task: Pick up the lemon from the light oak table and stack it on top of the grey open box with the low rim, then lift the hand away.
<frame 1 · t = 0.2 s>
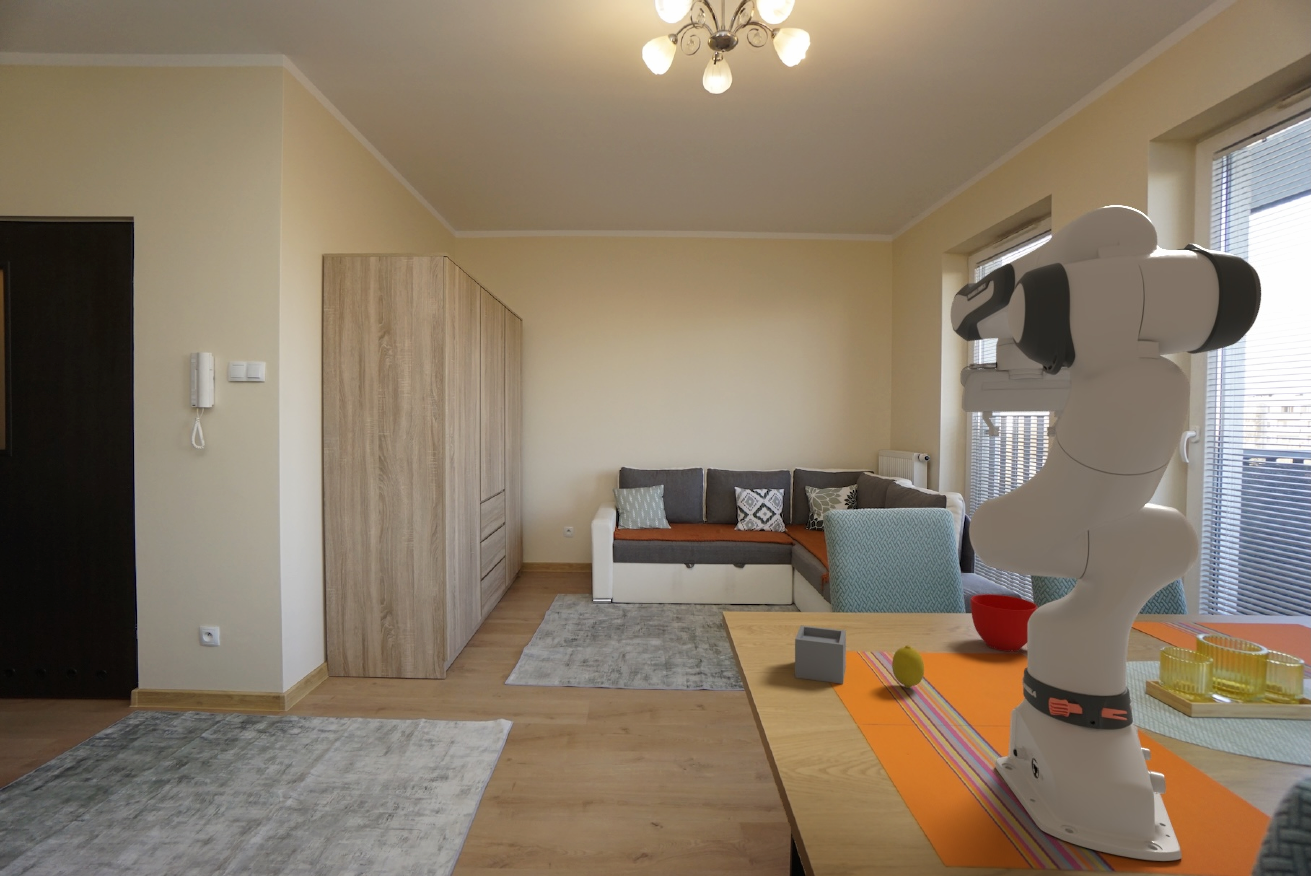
hand: (1023, 436, 111), 47 cm above the table, tool pointing down, fingers open, 8 cm apart
grey open box: (820, 672, 120), on the table
lemon: (907, 689, 112), on the table
red bowl: (1012, 648, 134), on the table
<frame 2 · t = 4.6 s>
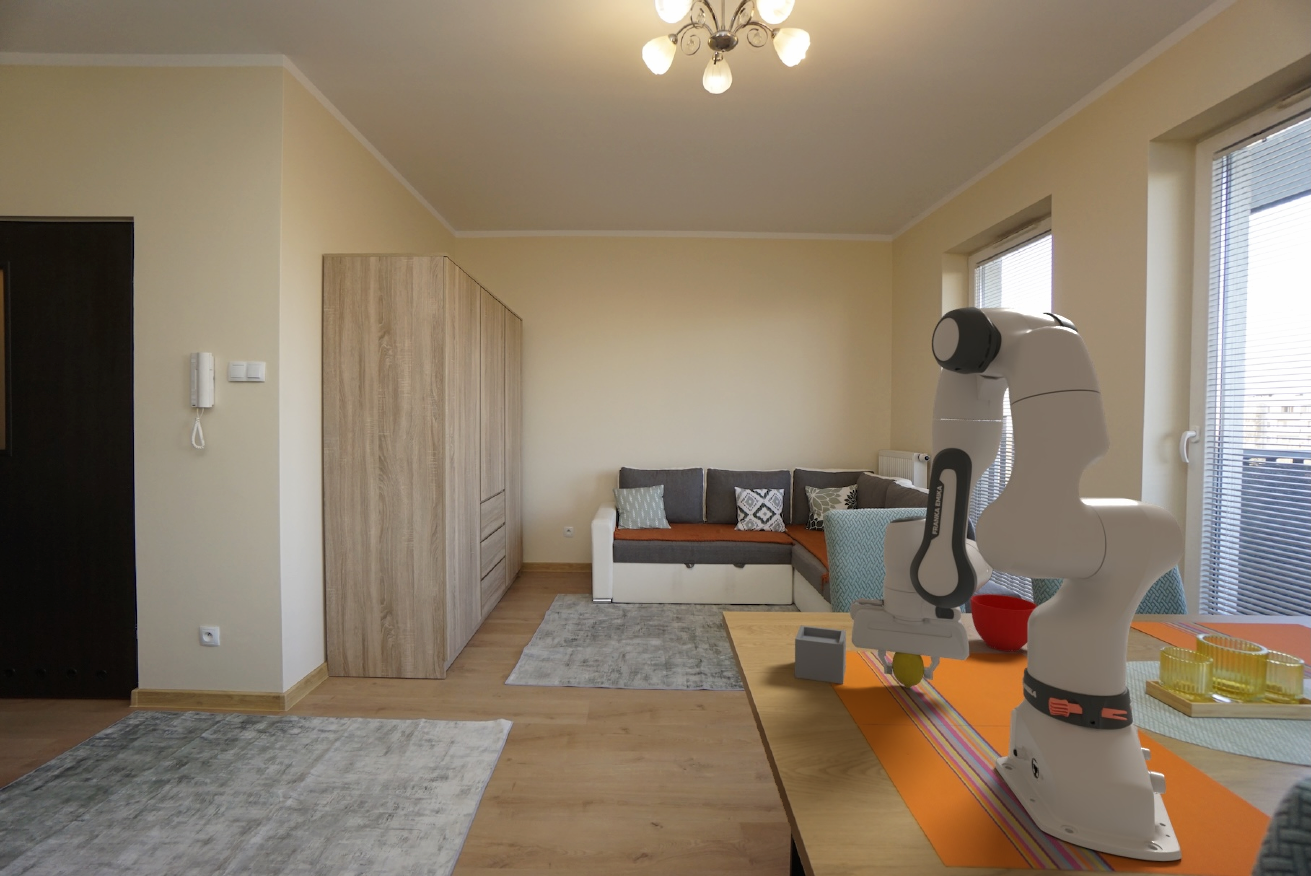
hand: (908, 675, 112), 2 cm above the table, tool pointing down, fingers closed on lemon, 5 cm apart
lemon: (907, 689, 112), on the table, touching gripper
everything else where it was.
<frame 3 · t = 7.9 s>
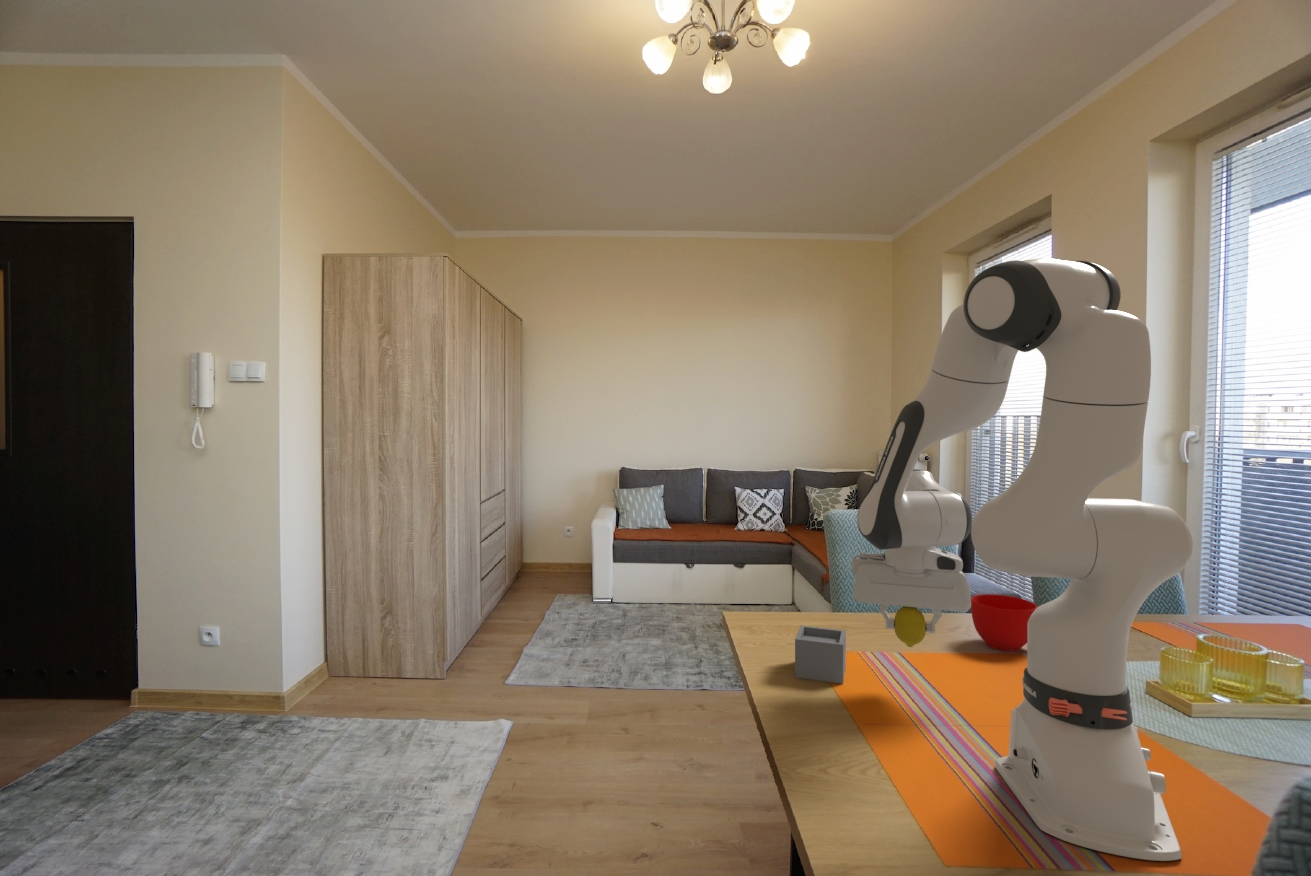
hand: (909, 630, 112), 11 cm above the table, tool pointing down, fingers closed on lemon, 5 cm apart
lemon: (909, 648, 112), point 8 cm above the table, touching gripper
everything else where it was.
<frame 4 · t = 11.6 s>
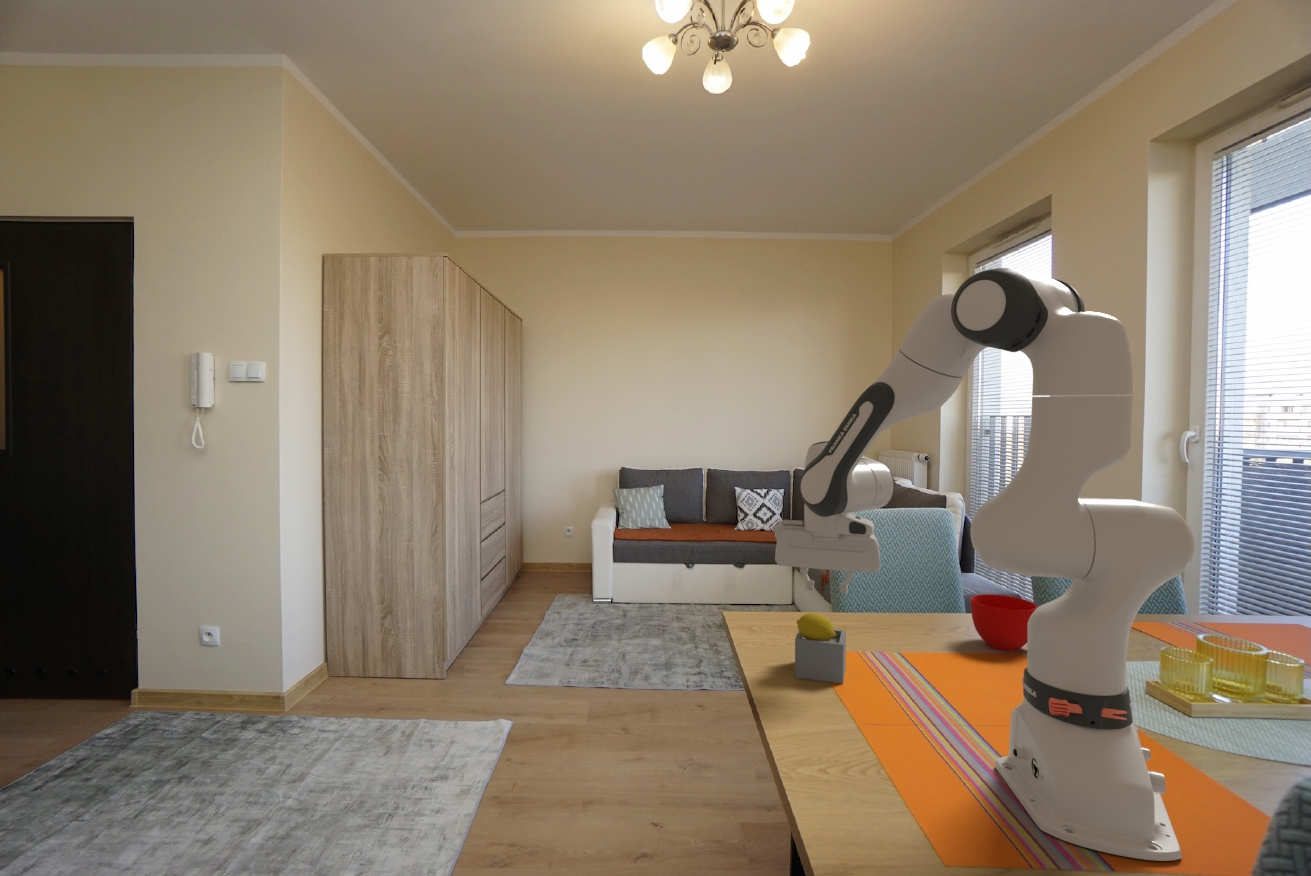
hand: (826, 591, 119), 16 cm above the table, tool pointing down, fingers open, 5 cm apart
lemon: (836, 635, 119), point 8 cm above the table, touching grey open box
everything else where it was.
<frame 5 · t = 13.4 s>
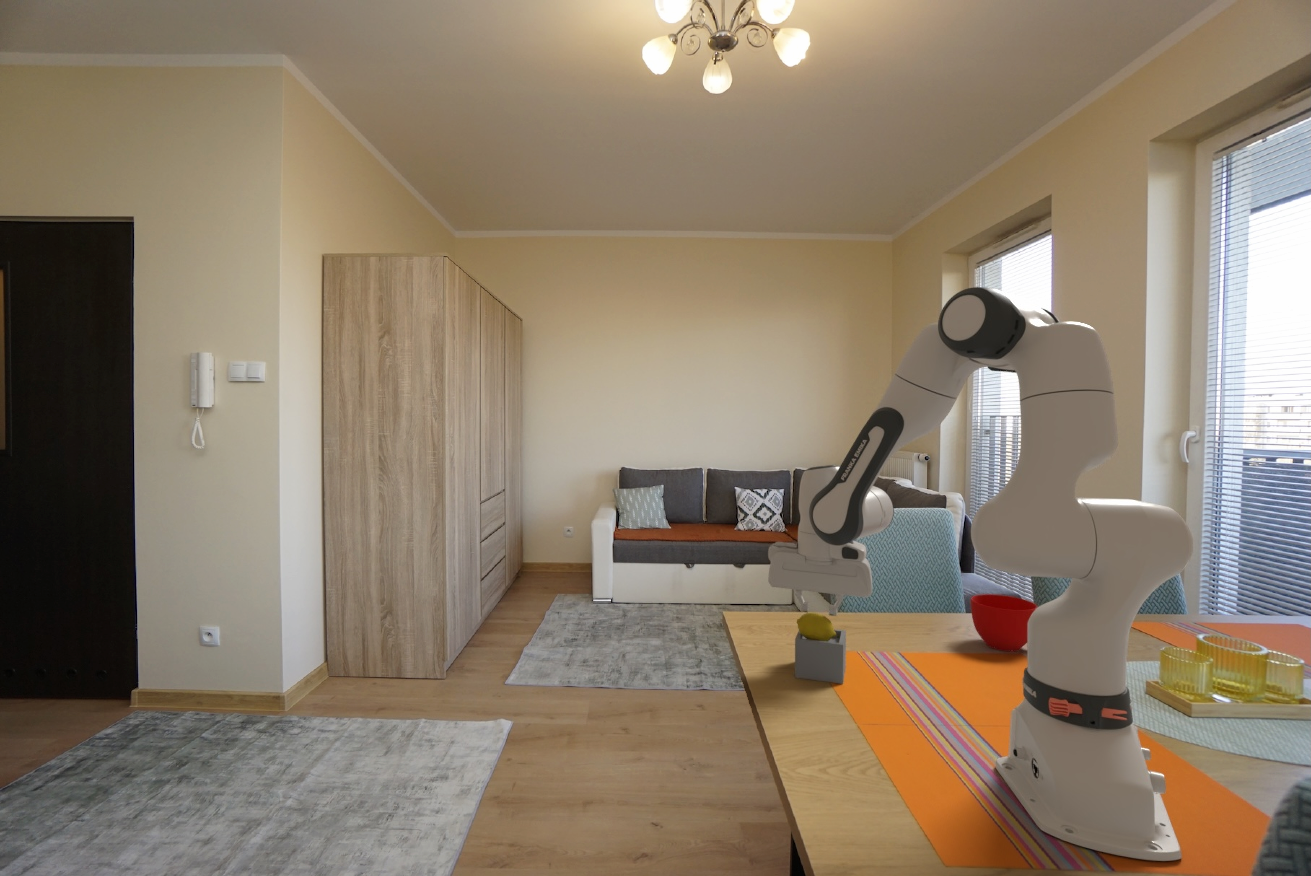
hand: (818, 613, 121), 11 cm above the table, tool pointing down, fingers open, 4 cm apart
lemon: (836, 635, 119), point 8 cm above the table, touching grey open box, gripper
everything else where it was.
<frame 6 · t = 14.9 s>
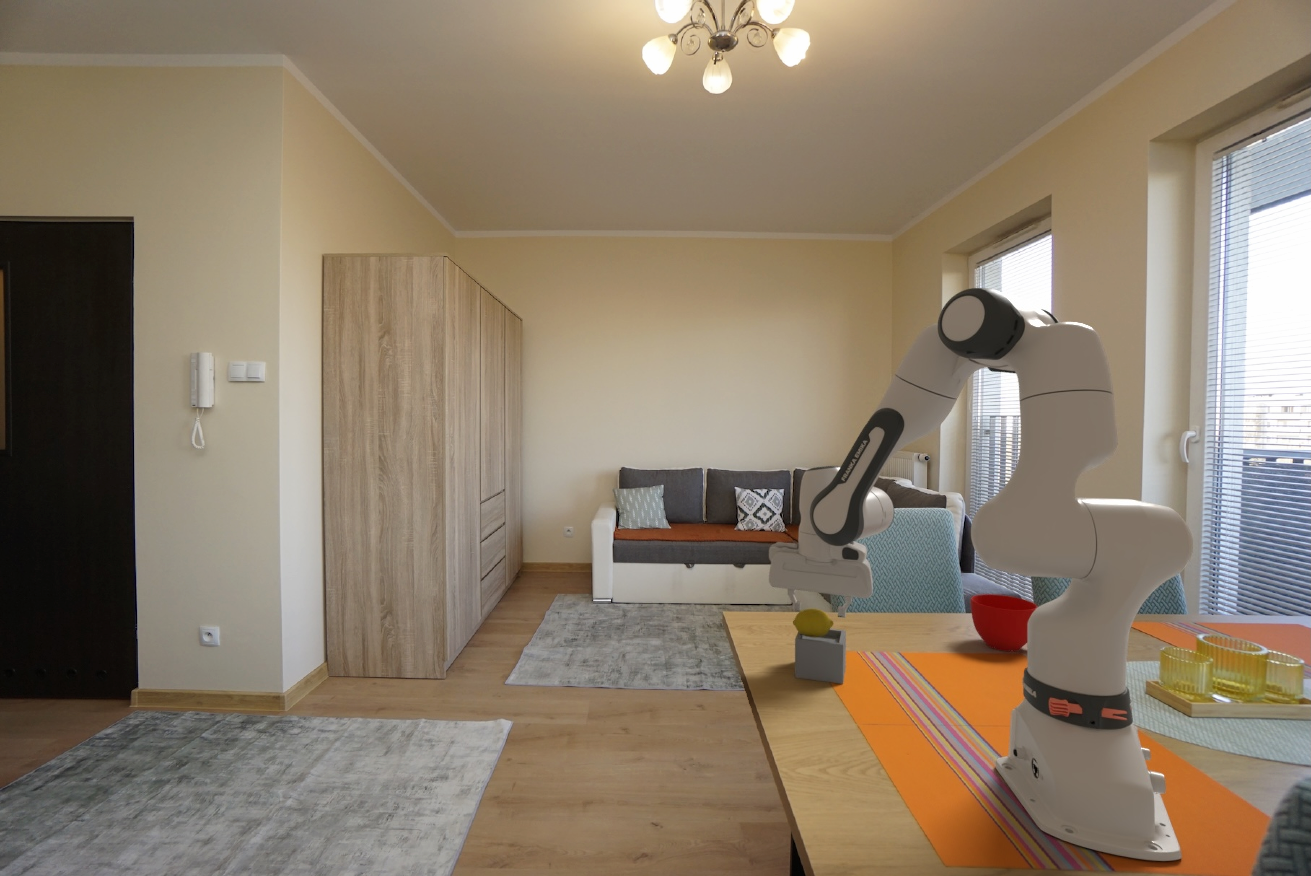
hand: (818, 613, 121), 11 cm above the table, tool pointing down, fingers open, 7 cm apart
lemon: (834, 623, 120), point 10 cm above the table, touching grey open box, gripper
everything else where it was.
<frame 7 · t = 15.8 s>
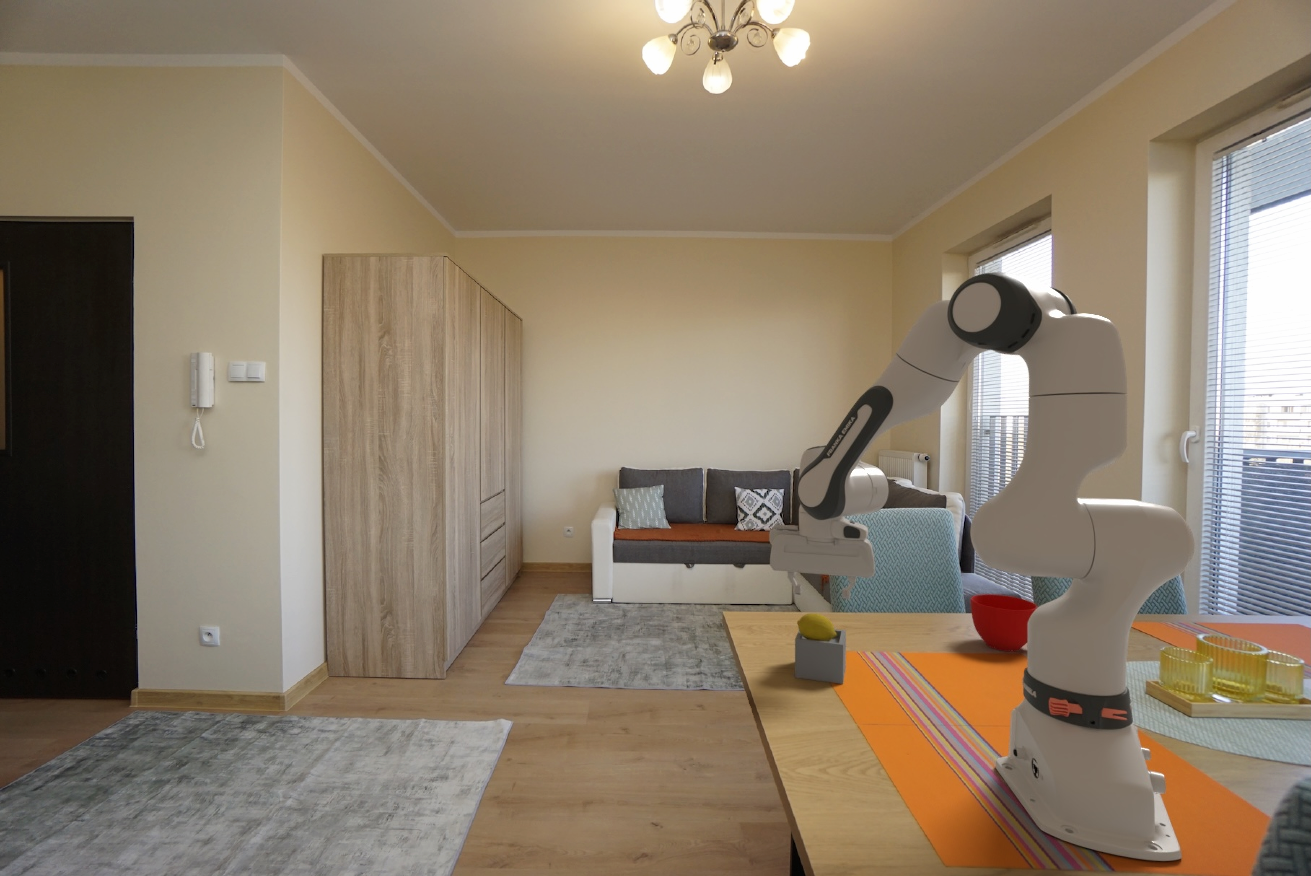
hand: (821, 596, 120), 15 cm above the table, tool pointing down, fingers open, 8 cm apart
lemon: (837, 635, 119), point 8 cm above the table, touching grey open box
everything else where it was.
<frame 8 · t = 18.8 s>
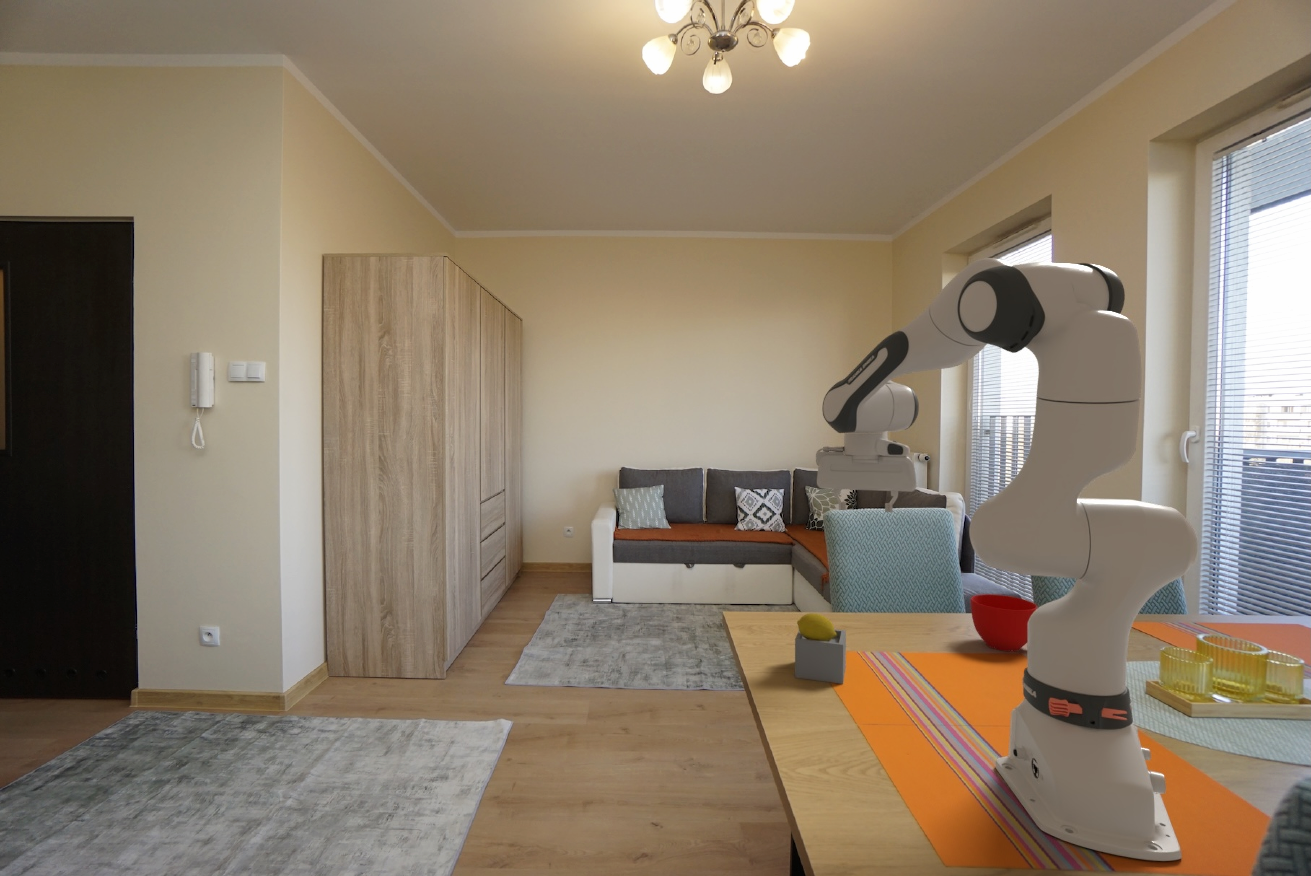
hand: (865, 511, 129), 31 cm above the table, tool pointing down, fingers open, 8 cm apart
nothing on the table moved.
at the end: lemon 3.1 cm off-centre on the grey open box, point 7.7 cm above the grey open box's base; the gripper is holding nothing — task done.
